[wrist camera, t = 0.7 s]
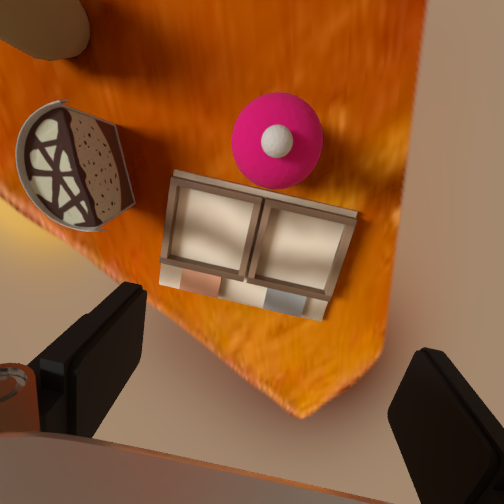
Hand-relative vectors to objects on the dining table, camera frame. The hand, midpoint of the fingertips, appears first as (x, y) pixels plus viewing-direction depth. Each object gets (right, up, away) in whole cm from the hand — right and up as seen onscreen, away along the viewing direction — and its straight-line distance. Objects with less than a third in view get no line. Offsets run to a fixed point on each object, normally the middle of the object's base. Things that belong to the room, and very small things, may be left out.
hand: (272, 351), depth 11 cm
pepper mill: (+2, +16, +25) cm, 30 cm away
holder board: (-1, +4, +29) cm, 29 cm away
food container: (-19, +14, +27) cm, 36 cm away
